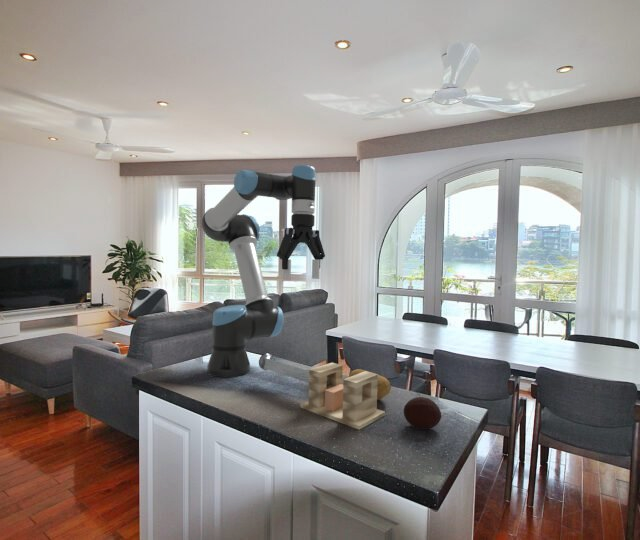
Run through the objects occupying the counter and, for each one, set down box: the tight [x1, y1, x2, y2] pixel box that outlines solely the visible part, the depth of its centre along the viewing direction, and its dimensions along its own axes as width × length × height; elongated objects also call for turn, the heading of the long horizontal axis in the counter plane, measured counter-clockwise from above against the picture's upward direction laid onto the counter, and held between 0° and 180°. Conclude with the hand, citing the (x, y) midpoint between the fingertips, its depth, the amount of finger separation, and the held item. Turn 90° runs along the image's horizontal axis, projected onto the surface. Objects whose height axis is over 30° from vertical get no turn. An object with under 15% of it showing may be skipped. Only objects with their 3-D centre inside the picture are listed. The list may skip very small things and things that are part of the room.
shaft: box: [258, 352, 330, 385], centre depth 119 cm, size 26×5×5 cm, turn 49°
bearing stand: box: [300, 362, 386, 430], centre depth 107 cm, size 20×12×11 cm, turn 49°
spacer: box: [325, 383, 343, 411], centre depth 108 cm, size 5×7×3 cm
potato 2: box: [403, 396, 442, 431], centre depth 98 cm, size 8×9×8 cm
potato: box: [348, 368, 392, 401], centre depth 117 cm, size 10×14×8 cm
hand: (301, 279), depth 128 cm, fingers open, 13 cm apart
